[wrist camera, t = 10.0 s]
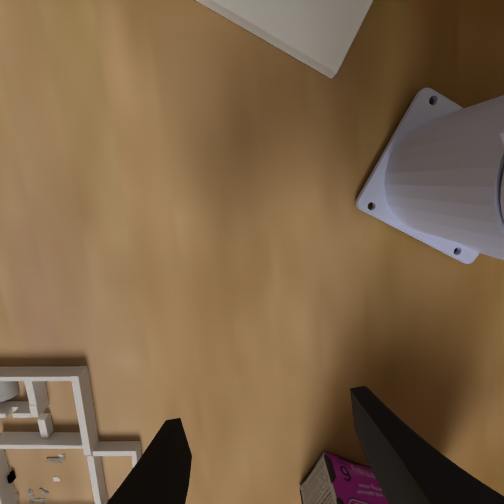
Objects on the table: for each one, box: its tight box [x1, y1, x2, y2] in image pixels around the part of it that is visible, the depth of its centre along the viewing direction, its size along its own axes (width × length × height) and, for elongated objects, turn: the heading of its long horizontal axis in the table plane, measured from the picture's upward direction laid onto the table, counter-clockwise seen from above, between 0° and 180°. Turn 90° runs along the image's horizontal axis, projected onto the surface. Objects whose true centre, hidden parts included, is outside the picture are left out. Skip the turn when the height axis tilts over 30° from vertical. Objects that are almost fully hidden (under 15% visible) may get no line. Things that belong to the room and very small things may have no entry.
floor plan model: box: [0, 366, 142, 504], centre depth 23 cm, size 19×25×2 cm
